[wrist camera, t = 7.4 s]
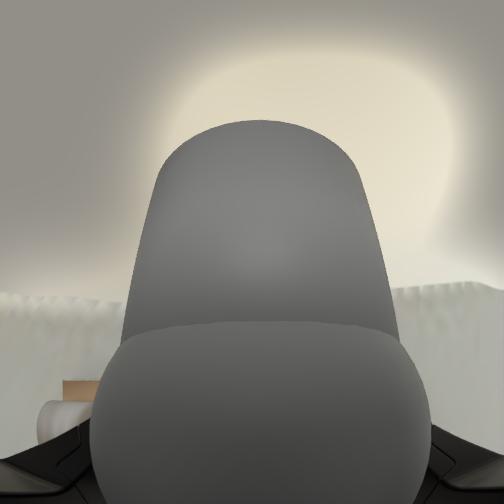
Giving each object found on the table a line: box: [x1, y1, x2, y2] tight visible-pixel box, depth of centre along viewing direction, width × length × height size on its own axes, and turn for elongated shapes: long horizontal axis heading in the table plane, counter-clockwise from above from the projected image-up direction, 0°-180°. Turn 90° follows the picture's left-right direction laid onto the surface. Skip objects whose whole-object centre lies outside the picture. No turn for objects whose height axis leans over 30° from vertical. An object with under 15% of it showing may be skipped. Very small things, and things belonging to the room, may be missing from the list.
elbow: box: [90, 120, 431, 504], centre depth 8 cm, size 7×5×14 cm
